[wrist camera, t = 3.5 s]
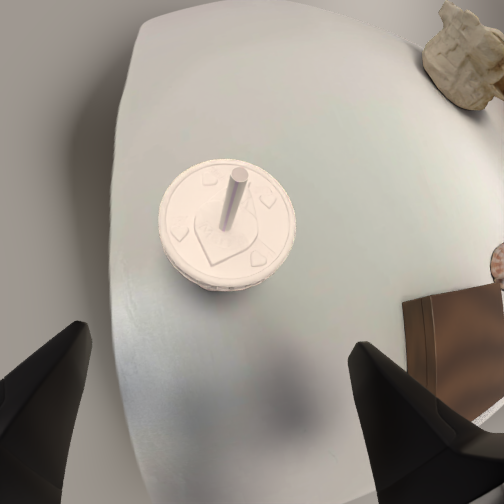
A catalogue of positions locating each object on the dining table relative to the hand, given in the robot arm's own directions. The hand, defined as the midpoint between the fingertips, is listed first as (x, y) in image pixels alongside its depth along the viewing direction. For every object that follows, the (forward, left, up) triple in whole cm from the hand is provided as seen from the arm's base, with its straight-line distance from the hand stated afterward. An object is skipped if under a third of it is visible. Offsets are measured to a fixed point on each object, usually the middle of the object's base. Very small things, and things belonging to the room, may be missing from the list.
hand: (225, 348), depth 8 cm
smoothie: (+5, -1, -12) cm, 14 cm away
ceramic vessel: (+42, -51, -12) cm, 67 cm away
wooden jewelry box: (-6, -25, -12) cm, 28 cm away
